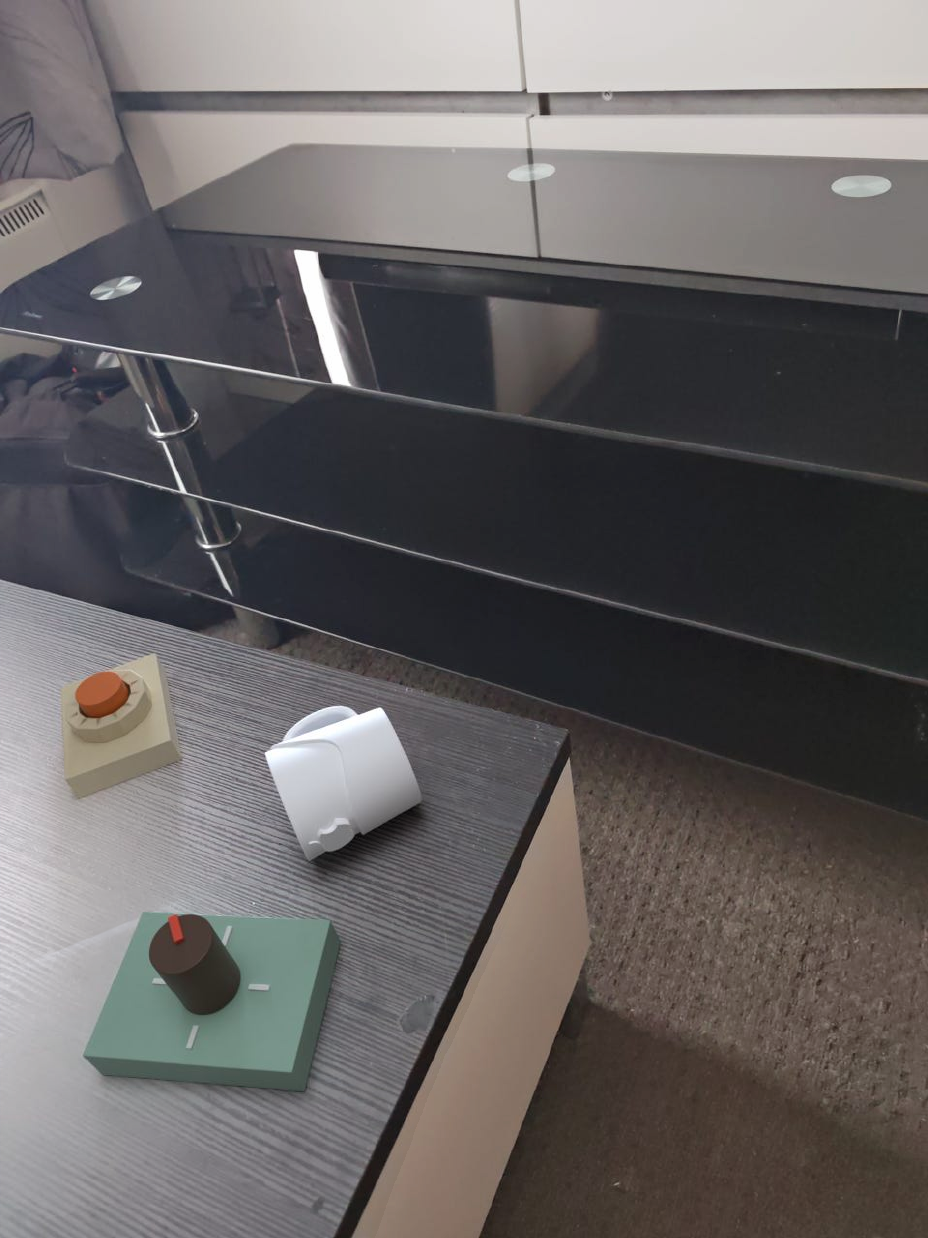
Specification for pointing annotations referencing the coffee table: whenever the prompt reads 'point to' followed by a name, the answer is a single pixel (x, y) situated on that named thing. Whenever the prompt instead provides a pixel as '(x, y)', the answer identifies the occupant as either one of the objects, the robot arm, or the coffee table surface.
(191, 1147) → the coffee table surface
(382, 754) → the mug
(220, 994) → the dial knob
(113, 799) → the coffee table surface
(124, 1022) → the dial panel
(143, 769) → the base
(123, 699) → the orange push button
